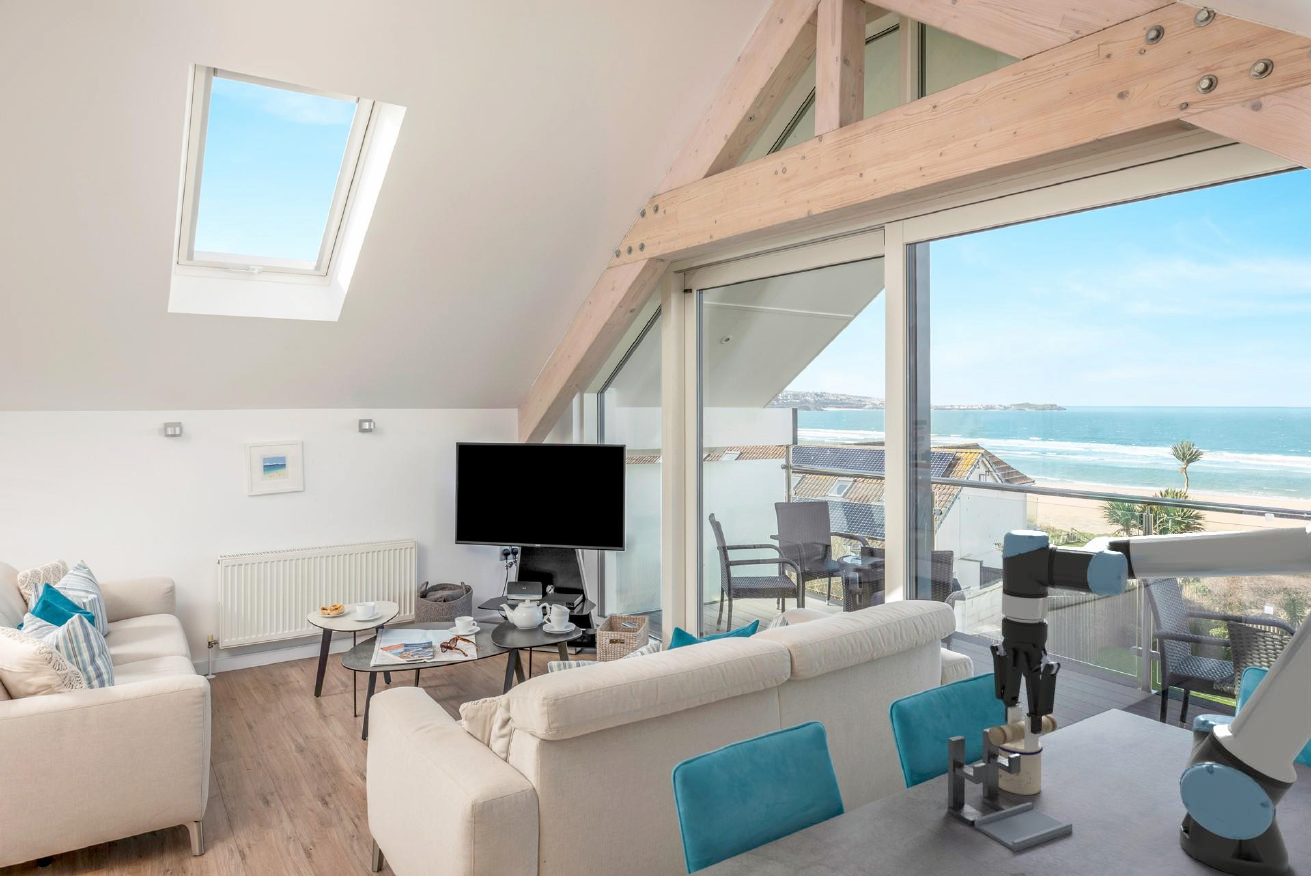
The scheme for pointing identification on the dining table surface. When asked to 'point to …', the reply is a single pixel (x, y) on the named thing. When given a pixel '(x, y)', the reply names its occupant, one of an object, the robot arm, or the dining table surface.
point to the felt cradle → (1021, 826)
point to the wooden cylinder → (1018, 730)
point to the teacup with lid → (1030, 770)
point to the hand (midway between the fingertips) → (1022, 745)
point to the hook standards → (977, 778)
